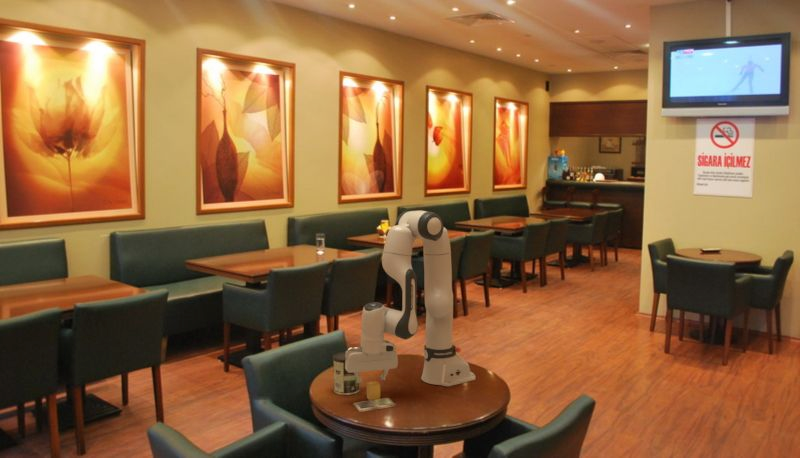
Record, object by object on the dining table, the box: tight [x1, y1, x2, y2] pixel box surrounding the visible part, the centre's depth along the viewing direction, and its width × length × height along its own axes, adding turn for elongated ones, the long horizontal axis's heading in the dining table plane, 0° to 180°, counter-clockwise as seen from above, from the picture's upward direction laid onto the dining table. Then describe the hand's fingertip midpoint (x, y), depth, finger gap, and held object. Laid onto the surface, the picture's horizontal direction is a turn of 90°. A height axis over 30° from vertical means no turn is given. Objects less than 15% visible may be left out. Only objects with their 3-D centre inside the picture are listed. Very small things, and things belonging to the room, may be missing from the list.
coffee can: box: [332, 351, 360, 396], centre depth 256 cm, size 10×10×14 cm
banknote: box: [352, 397, 396, 413], centre depth 242 cm, size 14×7×1 cm, turn 112°
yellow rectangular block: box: [366, 380, 381, 401], centre depth 248 cm, size 4×4×6 cm
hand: (371, 381), depth 247 cm, fingers open, 8 cm apart
